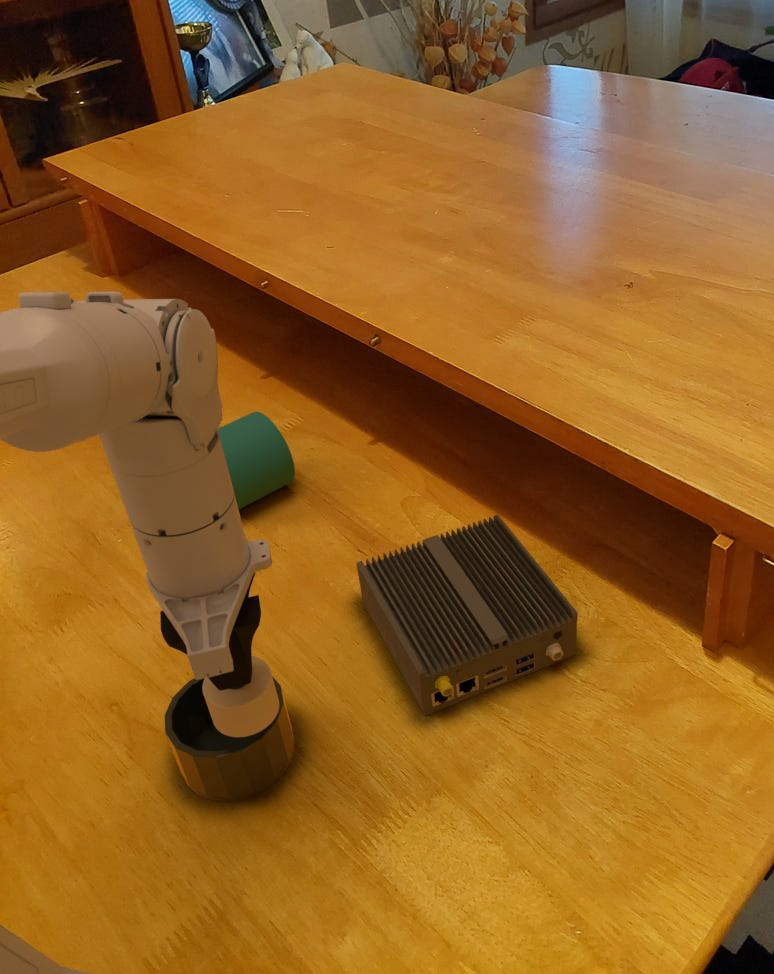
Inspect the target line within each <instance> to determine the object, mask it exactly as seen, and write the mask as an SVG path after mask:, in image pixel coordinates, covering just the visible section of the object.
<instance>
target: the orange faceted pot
mask: <svg viewBox="0 0 774 974" xmlns="http://www.w3.org/2000/svg"><path fill="white" fill-rule="evenodd" d="M272 677H273V681H274V684H275V688H276V692H277V695H278V699H279V710H278V713H277V715H276V717H275V719H274V720H273V721H272V723H271V724H270V725H269V726H267V727H266V728H265V729H263V730H262V731H260V732H258V733H256V734H253V735H250V736H246V737H230V736H227V735H224V734H223V733H221V732H220V731H218V730H217V729H216V727H215V726H214V723H213V721H212V718H211V715H210V712H209V709H208V706H207V703H206V700H205V697H204V694H203V690H202V686H203V682H204V679H205V678H203V679H199V680H196V679H195V677H193V678H191V679H189V680H188V681H187V682H186V683H185V684H184V685H183V687H181V688H179V690H178V691H177V692H176V693H175V694H174V695H173V697H172V698H171V700H170V703H169V705H168V707H167V709H166V711H165V713H164V734H165V736H166V739H167V741H168V744H169V746H170V750H171V752H172V754H173V756H174V759H175V761H176V765H177V767H178V769H179V772H180V774H181V776H182V777H183V779H184V781H185V783H186V785H187V786H188V788H189V789H190V790H191V791H193V793H195V794H196V795H197V796H199V797H201V798H204V799H206V800H209V801H213V802H219V803H220V802H221V803H225V802H227V803H228V802H229V803H230V802H237V801H242V800H245V799H249V798H252V797H254V796H256V795H258V794H261V793H262V792H263V791H265V790H267V789H268V788H270V787H271V786H273V784H275V783H276V782H278V780H279V779H280V778H281V777H282V776H283V774H285V772H286V771H287V769H288V767H289V766H290V764H291V762H292V760H293V758H294V753H295V745H296V744H295V743H296V742H295V737H294V732H293V727H292V723H291V719H290V715H289V711H288V708H287V703H286V700H285V696H284V692H283V689H282V685H281V684H280V683H279V682H278V681H277V679H276V678H275V677H274V676H273V675H272Z"/></svg>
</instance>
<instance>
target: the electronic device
mask: <svg viewBox="0 0 774 974" xmlns="http://www.w3.org/2000/svg"><path fill="white" fill-rule="evenodd" d="M421 540H422V543H421V542H420V541H419V540H418V541H417V542H416V545H415V544H414V543H413V542H412V543H411V548H410V547H409V546H408V544H407V545H405V550H404V548H403V547H402V546H400V548H399V550H400V552H398V550H397V548H394V554H393V552H391V550H389V551H388V556H387V555H386V552H383V553H382V556H383V557H382V558H381V557H380V555H379V554H378V555H377V560H376V558H375V557H374V556H371V562H370V560H369V558H365V564H364V562H363V560H360V561H359V560H358V561H357V562H356V563H355V564H356V571H357V575H358V581H359V586H360V593H361V597H362V604H363V606H364V608H365V610H366V611H367V613H368V616H369V617H370V619H371V621H372V622H373V624H374V626H375V629H376V630H377V632H378V633H379V636H380V637H381V639H382V641H383V643H384V645H385V646H386V648H387V650H388V652H389V654H390V656H391V657H392V660H393V661H394V663H395V664H396V666H397V669H398V670H399V672H400V673H401V675H402V677H403V679H404V681H405V683H406V685H407V687H408V688H409V690H410V692H411V693H412V695H413V697H414V699H415V701H416V703H417V705H418V706H419V708H420V710H421V712H422V714H423V716H425V717H426V716H428V715H431V714H434V713H436V712H438V711H442V710H443V709H446V708H449V707H451V706H453V705H457V704H458V703H461V702H463V701H466V700H468V699H471V698H474V697H475V696H478V695H481V694H483V693H485V692H488V691H490V690H494V689H496V688H497V687H501V686H503V685H505V684H508V683H509V682H510V683H511V682H513V681H515V680H518V679H519V678H522V677H525V676H528V675H531V674H532V673H536V672H537V671H540V670H543V669H545V668H548V667H550V666H552V665H555V664H557V663H560V662H563V661H565V660H568V659H570V658H572V657H575V656H576V655H577V640H578V639H577V637H578V634H577V633H578V617H579V616H578V611H577V610H576V609H575V607H574V606H573V605H572V604H571V603H570V602H569V600H568V598H567V597H566V596H565V595H564V594H563V593H562V592H561V590H560V589H559V588H558V586H557V585H556V584H555V583H554V582H553V580H552V579H551V578H550V576H548V574H547V573H546V572H545V571H544V570H543V568H542V567H541V565H540V564H539V563H538V562H537V560H536V559H535V558H534V557H533V556H532V554H531V553H530V552H529V551H528V550H527V548H526V547H525V546H524V545H523V544H522V542H521V541H520V540H519V538H518V537H517V536H516V534H514V532H513V531H512V530H511V528H510V527H509V526H508V525H507V524H506V522H505V521H504V520H503V519H502V518H501V516H500V515H499V514H495V515H493V518H492V517H491V516H489V517H488V520H487V519H486V518H483V521H481V520H478V521H477V524H476V522H475V521H473V522H472V525H471V524H470V523H469V524H467V527H466V526H465V525H463V526H461V529H460V528H459V527H457V528H456V532H455V531H454V529H451V534H450V533H449V531H446V532H445V535H444V534H443V533H442V532H441V533H440V536H439V534H436V535H433V536H430V537H427V538H424V539H421Z"/></svg>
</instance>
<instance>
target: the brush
mask: <svg viewBox="0 0 774 974" xmlns="http://www.w3.org/2000/svg"><path fill="white" fill-rule="evenodd" d="M272 676H273V674H272V669H271V668H270V666H269V664H268V663H267V662H266V661H265V660H264V659H262V658H260V657H258V656H254V655H252V678H251V682H250V683H249V684H246V685H242V686H238V687H234V688H230V689H226V690H222V691H220V690H218V689H217V688H216V687H215V686H214V684H213V683H212V682H211V681H210V680H209V678H208V677H207V678H205V679H204V682H203V686H202V690H203V694H204V697H205V700H206V703H207V706H208V709H209V712H210V715H211V718H212V721H213V723H214V726H215V727H216V729H217V730H218V731H220V732H221V733H223V734H224V735H227V736H230V737H246V736H250V735H253V734H256V733H258V732H260V731H262V730H263V729H265V728H266V727H267V726H269V725H270V724H271V723H272V721H273V720H274V719H275V717H276V715H277V713H278V710H279V699H278V695H277V692H276V688H275V684H274V681H273V677H274V676H273V677H272Z"/></svg>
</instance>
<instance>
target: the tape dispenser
mask: <svg viewBox="0 0 774 974" xmlns="http://www.w3.org/2000/svg"><path fill="white" fill-rule="evenodd" d="M217 429H218V433H219V437H220V441H221V444H222V448H223V452H224V456H225V460H226V463H227V467H228V471H229V475H230V479H231V482H232V486H233V490H234V494H235V498H236V502H237V505H238V510H239V511H240V510H241V509H243V508H245V507H247V506H249V505H251V504H253V503H255V502H257V501H259V500H260V499H262V498H264V497H266V496H268V495H270V494H273V492H275V491H278V490H279V489H281V488H283V487H285V486H287V485H289V484H290V483H292V482H293V481H294V479H295V475H296V474H295V473H296V470H295V469H296V468H295V461H294V459H293V455H292V452H291V450H290V447H289V445H288V442H287V441H286V440H285V437H284V435H283V434H282V432H281V431H280V429H279V428H278V427H277V425H276V424H275V423H274V421H272V420H271V419H270V417H268V416H267V415H265V413H263V412H261V411H252V412H250V413H248V414H245V415H244V416H242V417H239V418H237V419H235V420H233V421H231V422H229V423H227V424H225V425H222V426H221V427H220V426H219V427H218V428H217Z"/></svg>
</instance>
